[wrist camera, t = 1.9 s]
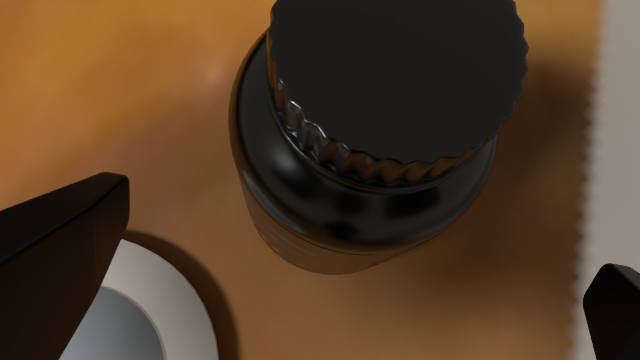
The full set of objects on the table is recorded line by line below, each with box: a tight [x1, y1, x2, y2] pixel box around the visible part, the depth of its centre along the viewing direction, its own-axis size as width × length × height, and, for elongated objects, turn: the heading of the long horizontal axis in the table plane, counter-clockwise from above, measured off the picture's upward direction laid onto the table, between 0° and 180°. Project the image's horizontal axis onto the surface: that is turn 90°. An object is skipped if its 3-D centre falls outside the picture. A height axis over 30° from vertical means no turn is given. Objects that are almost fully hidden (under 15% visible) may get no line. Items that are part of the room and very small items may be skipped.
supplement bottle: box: [228, 0, 529, 275], centre depth 15 cm, size 7×7×12 cm
